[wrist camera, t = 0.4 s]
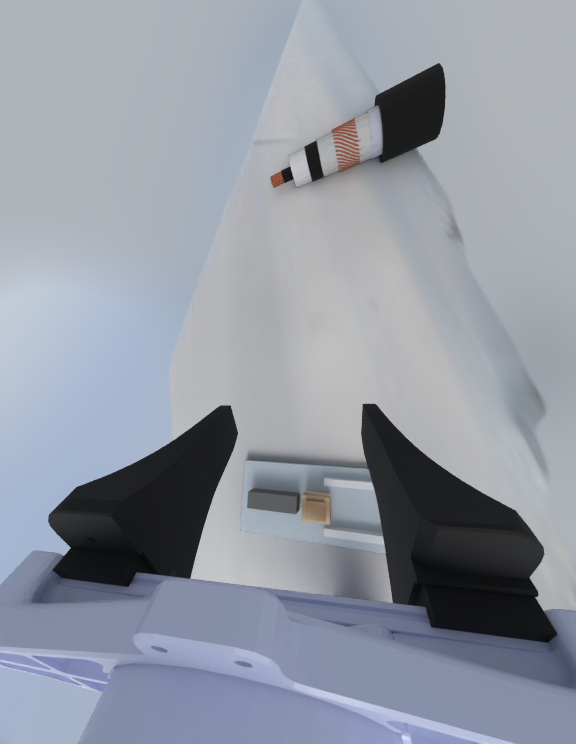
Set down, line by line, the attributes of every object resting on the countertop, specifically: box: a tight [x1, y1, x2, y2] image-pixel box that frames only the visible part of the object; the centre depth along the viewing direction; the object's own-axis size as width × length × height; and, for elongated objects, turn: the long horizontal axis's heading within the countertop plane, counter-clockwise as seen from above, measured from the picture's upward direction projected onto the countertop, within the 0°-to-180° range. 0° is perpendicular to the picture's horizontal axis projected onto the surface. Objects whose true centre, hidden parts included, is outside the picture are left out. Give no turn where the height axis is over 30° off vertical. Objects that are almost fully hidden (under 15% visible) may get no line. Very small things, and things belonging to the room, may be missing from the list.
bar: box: [247, 488, 300, 514], centre depth 37 cm, size 2×8×2 cm, turn 89°
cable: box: [270, 63, 445, 188], centre depth 49 cm, size 10×34×10 cm, turn 93°
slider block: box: [302, 491, 331, 525], centre depth 35 cm, size 3×4×4 cm
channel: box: [240, 460, 386, 554], centre depth 36 cm, size 11×28×4 cm, turn 88°
